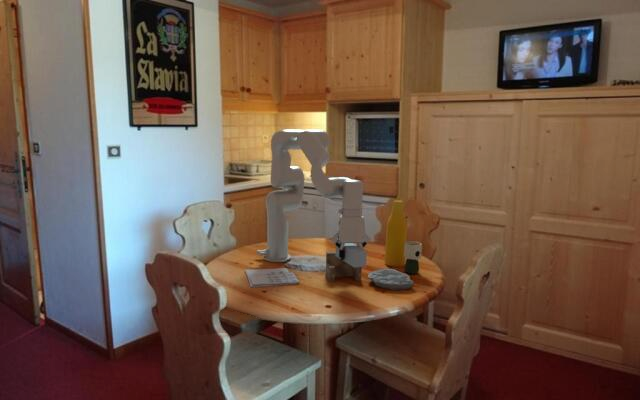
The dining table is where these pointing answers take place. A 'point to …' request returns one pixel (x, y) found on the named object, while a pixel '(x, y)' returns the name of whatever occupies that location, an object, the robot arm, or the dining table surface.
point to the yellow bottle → (396, 236)
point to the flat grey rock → (390, 279)
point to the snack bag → (270, 277)
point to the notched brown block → (340, 268)
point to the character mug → (412, 256)
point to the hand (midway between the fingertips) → (350, 258)
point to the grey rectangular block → (353, 254)
